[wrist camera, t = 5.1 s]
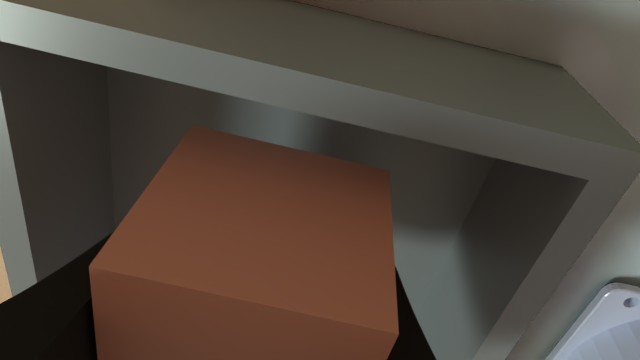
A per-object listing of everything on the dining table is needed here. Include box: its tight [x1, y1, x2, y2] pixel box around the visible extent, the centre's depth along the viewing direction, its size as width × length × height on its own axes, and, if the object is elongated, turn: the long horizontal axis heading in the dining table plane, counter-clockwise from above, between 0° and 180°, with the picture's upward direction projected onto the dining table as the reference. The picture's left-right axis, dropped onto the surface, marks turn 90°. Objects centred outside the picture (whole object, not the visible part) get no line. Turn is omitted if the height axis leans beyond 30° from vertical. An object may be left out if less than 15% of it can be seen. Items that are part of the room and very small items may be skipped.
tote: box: [0, 0, 640, 360], centre depth 16 cm, size 14×18×5 cm
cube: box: [89, 125, 399, 360], centre depth 11 cm, size 5×5×5 cm
